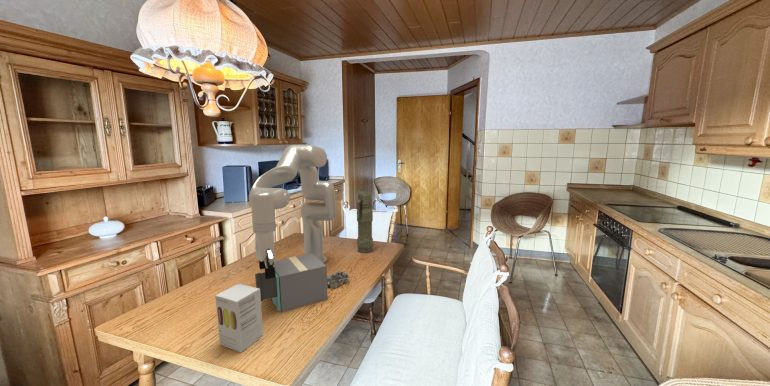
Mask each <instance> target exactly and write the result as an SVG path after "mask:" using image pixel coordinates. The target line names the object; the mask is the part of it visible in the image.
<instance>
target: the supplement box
mask: <svg viewBox="0 0 770 386" xmlns="http://www.w3.org/2000/svg"><path fill="white" fill-rule="evenodd" d="M215 305H216V314H217V315H216V316H217V317H216V318H217V327H218V338H219V341H218V342H219V345H221V346H223V347H225V348H227V349H231V350H232V351H235V352H238V353H243V352H244V351H245V350H247V349H248V348H249V347H251V346H252V345H254V344H255V343H256V342H258V340H260V339H261V338H263V337H264V331H263V330H264V329H263V327H264V325H263V314H262V302H261V295H260V289H259V288H256V286H255V287H253V286H250V285H246V284H243V283H241V282H240V283H237V284H235V285H233V286H231V287H229V288H226V289H225V290H223V291H220V292H219V293H217V294H216V295H215Z"/></svg>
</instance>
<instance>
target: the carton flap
mask: <svg viewBox="0 0 770 386" xmlns="http://www.w3.org/2000/svg"><path fill="white" fill-rule="evenodd" d="M254 277H255V288H259V289H260V295H261V303H262V302H264V301H265V300H270V299H271V300H272V302H273V304H274V306H275V307H276V309H277V311H278V312H281V305H280V289H279V276H278V275H277V274H276V272H275V277H274V278H270V279H266V278H265V271H264V272H257V273H255V274H254Z"/></svg>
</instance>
